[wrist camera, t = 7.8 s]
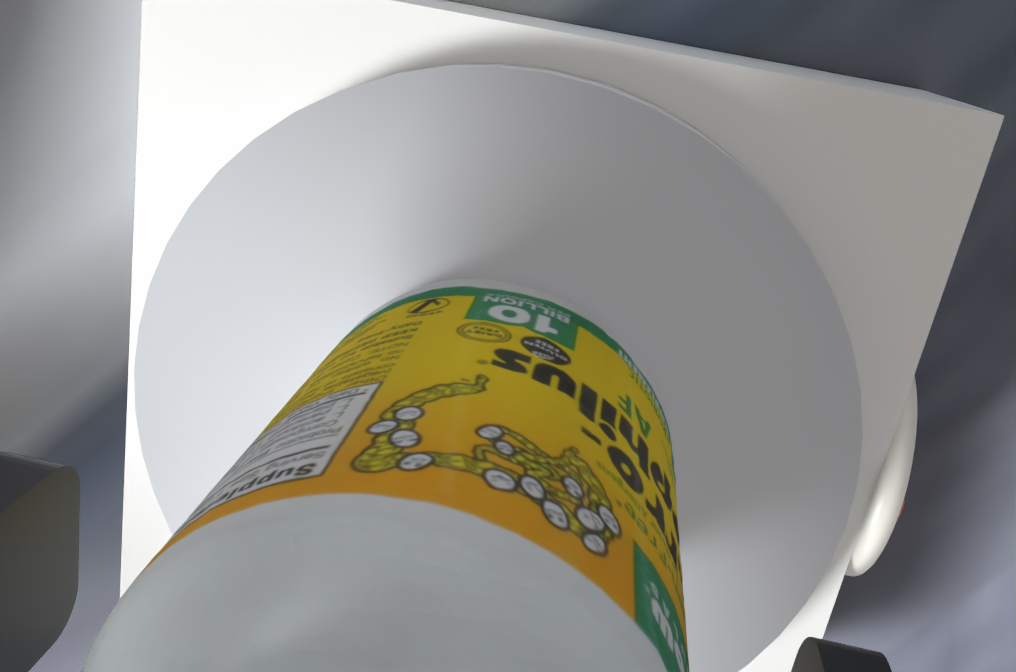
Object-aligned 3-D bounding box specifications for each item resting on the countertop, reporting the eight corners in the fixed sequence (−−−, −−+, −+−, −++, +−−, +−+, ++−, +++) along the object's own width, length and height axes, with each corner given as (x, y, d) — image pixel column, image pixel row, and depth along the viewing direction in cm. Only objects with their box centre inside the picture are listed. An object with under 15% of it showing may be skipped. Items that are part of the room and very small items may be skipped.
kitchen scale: (252, -37, 17) (115, -50, 13) (954, 96, 16) (1072, 130, 12) (210, 532, 21) (95, 673, 17) (768, 660, 21) (804, 844, 16)
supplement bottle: (250, 392, 15) (-373, 1010, 6) (533, 194, 13) (290, 617, 4) (460, 648, 16) (213, 1515, 7) (745, 492, 14) (924, 1355, 5)
